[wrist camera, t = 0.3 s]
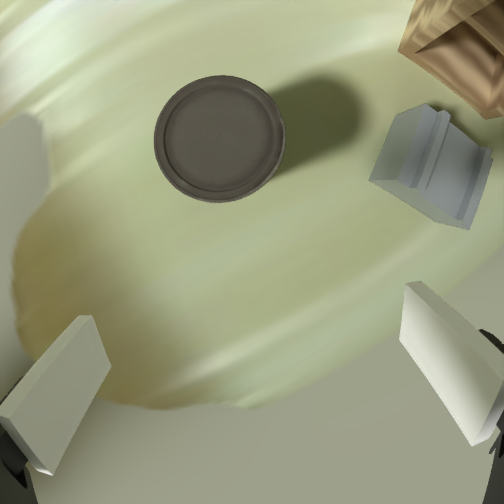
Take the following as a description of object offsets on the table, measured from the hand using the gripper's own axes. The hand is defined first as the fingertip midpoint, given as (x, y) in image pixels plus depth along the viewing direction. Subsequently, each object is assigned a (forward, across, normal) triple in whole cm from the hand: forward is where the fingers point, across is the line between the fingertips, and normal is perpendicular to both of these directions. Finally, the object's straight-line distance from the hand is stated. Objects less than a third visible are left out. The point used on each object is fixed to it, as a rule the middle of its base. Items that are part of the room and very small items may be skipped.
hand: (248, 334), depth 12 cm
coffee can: (+28, -2, +7) cm, 29 cm away
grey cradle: (+28, +23, +4) cm, 37 cm away
